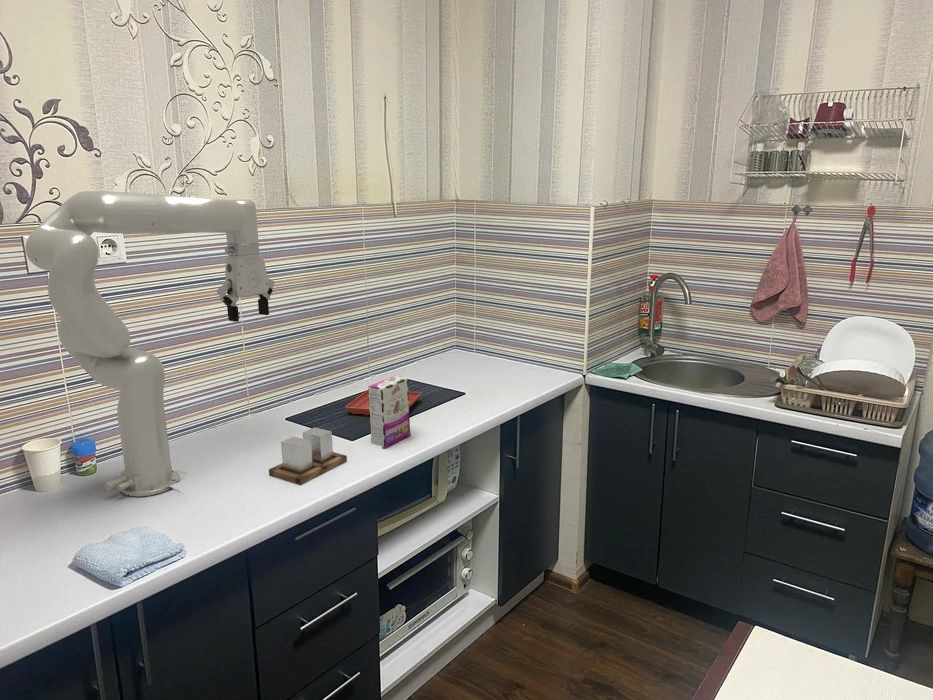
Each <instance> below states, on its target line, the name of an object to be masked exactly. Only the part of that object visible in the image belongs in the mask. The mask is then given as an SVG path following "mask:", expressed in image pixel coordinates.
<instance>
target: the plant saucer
mask: <svg viewBox="0 0 933 700" xmlns="http://www.w3.org/2000/svg"><path fill="white" fill-rule="evenodd" d="M408 395H409V409H410V408H411V407H412V406H414V405H415V403H416V402H417V401H418V399H419V398H420V397H421V395H422V392H419V391H408ZM345 409H346V410H347V411H349V412H350V413H351V414H353V415H355V414H364V415H363V416H368V415H370V409H369V393H368V389H366V390H365V391H364V392H362V393H361V394H360V395H358V396H357V397H356V398H355V399H354V400H352V401H351V402H350V403H348V404H347V405H345Z"/></svg>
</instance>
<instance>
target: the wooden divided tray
mask: <svg viewBox="0 0 933 700" xmlns="http://www.w3.org/2000/svg"><path fill="white" fill-rule="evenodd" d="M347 462H348V455H346V454H342V453H338V452H335V451H333V459H332V460H330V461H328V462H326V463H324V464H319V463H315V462H312V465H313V469H311V470H309V471H307V472H305V473H303V474H301V475H298V474H295V473H291V472H288V471H285V470H283V462H282V463H279V464H277V465H275V466H273V467H271V468H268V475H269V477H273V478H276V479H279V480H281V481H285V482H289V483H292V484H294V485H299V486H302V485H304V484H306V483H308V482H309V481H311V480H314V479H316V478H318V477H319V476H321V475H324V474H326V473H328V472H329V471H332V470H333V469H336V468H338V467H339V466H341V465H343V464H345V463H347Z"/></svg>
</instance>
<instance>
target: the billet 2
mask: <svg viewBox="0 0 933 700" xmlns="http://www.w3.org/2000/svg"><path fill="white" fill-rule="evenodd" d="M332 433H333V432H332V431H331V430H328V429H322V428H319V427H315V426H314V427H312V428H310V429H308V430H305V431H303V432H302V439H306V440H310V441H311V450H312V462H315V463H319V464H324V463H326V462H328V461H330V460H332V459H333V452H334V449H333V434H332Z"/></svg>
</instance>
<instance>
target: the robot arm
mask: <svg viewBox="0 0 933 700" xmlns="http://www.w3.org/2000/svg"><path fill="white" fill-rule="evenodd" d="M257 216H258V215H257V207H256V203H255V202H254V201H253V200H251V199H219V198H218V199H217V198H201V197H188V196H186V197H185V196H179V195H173V194H172V195H171V194H161V193H144V192H143V193H142V192H141V193H140V192H127V191H126V192H124V191H123V192H122V191H105V190H103V191H101V190H98V191H89V190H87V191H85V190H84V191H80V192H77V193H75V194H73V195H72V196H70V197H69V198H68V199H66V201H64V202H63V203H62V204H61V205H60V206H58V208H56V209H55V211H53V212H52V213H51V214H49V216H48V217H47V218H46V219H44V221H43V222H41V223H40V224H39V225H38V226H37V227H36V228H35V229H34V230H32V232H30V234H29V236H28V238H27V239H26V241H25V247H24V248H25V253H26V254H25V255H26V257H27V258H28V260H29V261H30V262H31V264H33V265H34V266H35V267H37V268H39V269H41V270H44V271H48V272H49V273H48V281H47V294H48V295H47V296H48V300H49V301H50V302H49V303H50V304H51V307H52V308H53V309H54V311H55V312H56V313H57V314H58V316H59V317H60V318H61V320H60V321H59V324H58V330H57V332H58V335H57V336H58V338H59V341H60V344H61V345H62V347H63V348H64V349H65V351H67V353H68V354H69V355H70V356H71V357H72V358H73V359H74V361H76V363H77V364H78V365H79V366H80V367H81V368H82V369H83V370H84V371H85V372H86V373H87V374H88V376H90V377H91V378H92V379H93V380H94V381H95V382H97V383H98V384H99V385H101V386H105V387H107V388H110V389H113V390H118V391H119V399H118V401H117V407H116V409H117V410H116V414H117V415H116V416H117V423H118V430H119V436H120V445H121V451H122V458H123V465H124V469H123V470H120V472H119V473H120V475H119V476H118V477H117V478H116V479H111V480H110V481H107V482H104V484H103V486H104V489H105V491H107V492H110V491H113V490H115V489H117V491H119V492H120V493H121V492H122V494H123V495H125V496H128V495H129V497H147V496H149V497H150V496H153V495H159V494H162V493H165V492H168V491H169V490H171V489H173V487H172V486H173V485H175V484H177V483H179V482H180V481H181V476H180V473H179V472H178V471H176V470H173V469H172V461H171V453H170V445H169V435H168V430H167V429H168V428H167V421H166V413H165V403H164V389H165V379H166V377H165V376H166V373H165V368H164V365H163V362H162V361H161V360H160V359H159V357H157V356H156V355H155V354H153V353H151V352H149V351H147V350H142V349H139V348H133V347H130V344H131V335H130V334H131V333H130V331H129V328H128V326H126V324H125V322H123V320H122V319H121V318H120V317H119V316H118V315H117V314H116V312H115V311H114V310H113V309H112V308H111V306H110V305H109V304H108V302H107V301H106V300H105V299H104V298H103V296H102V294H100V292H99V290H98V288H97V287H96V282H95V273H96V269H97V265H98V263H99V257H100V251H99V247H98V244H97V242H96V241H95V239H94V238H93V237H92V236H91V235H93V233H98V234H99V233H100V234H101V233H102V234H123V235H124V234H129V235H130V234H143V235H144V234H152V235H153V234H157V235H158V234H159V235H161V234H163V235H164V234H165V235H167V234H168V235H169V234H170V235H177V234H191V233H192V234H193V233H196V234H197V233H201V234H202V233H204V234H205V233H216V234H221V233H222V234H225V236H226V247H225V248H224V253H226V254H227V256H226V259H225V260H226V261H225V273H224V274H225V276H224V277H225V282H224V283H223V284H222V285H221V286H220V287H219V288H218V289H216V293H217V295H218V297H219V298H220V301H221V302H222V303H224V304H223V305H225V306H226V309H227V317H228V319H227V320H228V321H229V322H233V323H234V322H235V323H238V322H240V315H239V314H240V313H239V306H238V305H237V302H238V300H239V299H240V298H241V299H242V298H249V297H256V296H258V299H257V307H258V314H259V315H261V316H270V308H269V306H270V305H269V300H270V299H271V295H272V293H273V289H274V286H275V281H274V280H272V279H270V278H268V274H267V273H268V272H267V267H266V264H265V260H264V255H263V254H260V253H261V252H260V242H259V229H258V219H257Z"/></svg>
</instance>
